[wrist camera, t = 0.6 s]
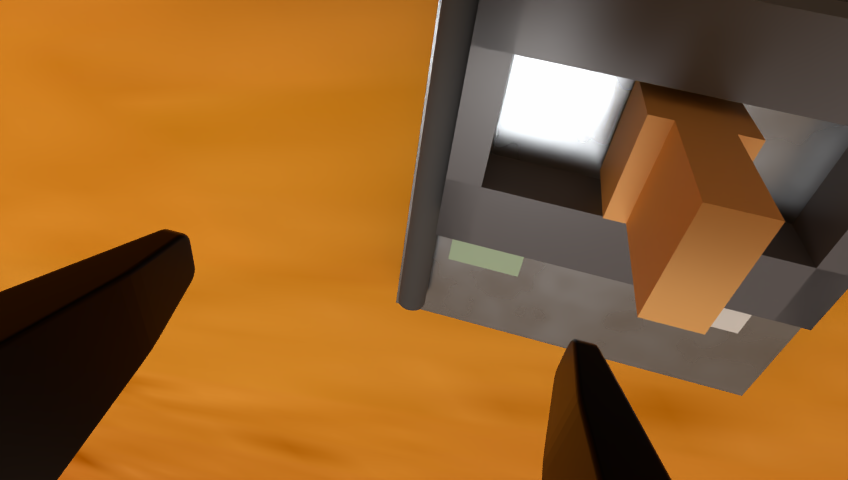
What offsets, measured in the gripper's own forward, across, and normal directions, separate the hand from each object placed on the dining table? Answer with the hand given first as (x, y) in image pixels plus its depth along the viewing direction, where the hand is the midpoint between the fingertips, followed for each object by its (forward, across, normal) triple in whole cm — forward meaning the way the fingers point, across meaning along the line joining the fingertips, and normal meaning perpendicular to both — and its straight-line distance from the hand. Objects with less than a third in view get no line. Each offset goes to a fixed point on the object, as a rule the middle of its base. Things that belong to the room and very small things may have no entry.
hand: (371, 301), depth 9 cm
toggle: (+11, -6, 0) cm, 12 cm away
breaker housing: (+11, -6, +2) cm, 13 cm away
